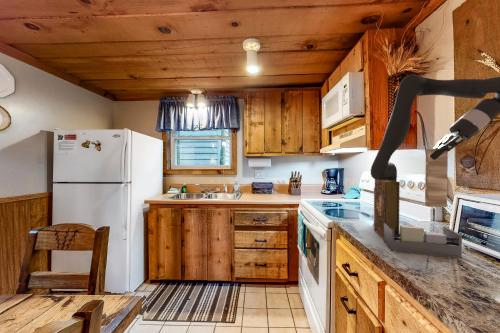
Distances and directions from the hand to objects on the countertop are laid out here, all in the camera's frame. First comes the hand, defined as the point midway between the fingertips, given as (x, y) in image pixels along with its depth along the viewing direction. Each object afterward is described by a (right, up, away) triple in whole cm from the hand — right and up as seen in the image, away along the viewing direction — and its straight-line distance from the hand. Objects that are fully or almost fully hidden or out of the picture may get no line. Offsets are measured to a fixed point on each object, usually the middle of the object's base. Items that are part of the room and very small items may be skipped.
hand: (430, 157), depth 93 cm
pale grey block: (-1, -35, -4) cm, 35 cm away
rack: (-5, -35, -1) cm, 35 cm away
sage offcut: (-9, -35, -2) cm, 36 cm away
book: (-8, -35, +18) cm, 40 cm away
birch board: (+2, -18, 0) cm, 19 cm away
